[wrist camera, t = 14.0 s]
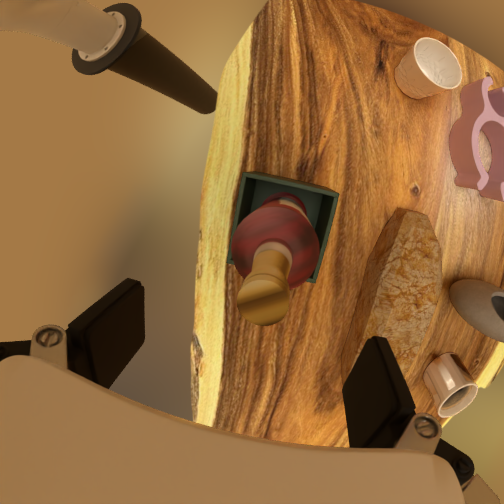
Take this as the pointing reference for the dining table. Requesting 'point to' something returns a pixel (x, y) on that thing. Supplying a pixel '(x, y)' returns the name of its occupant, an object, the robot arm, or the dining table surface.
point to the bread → (397, 290)
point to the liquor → (273, 257)
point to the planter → (480, 306)
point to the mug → (449, 384)
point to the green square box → (313, 196)
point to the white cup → (428, 69)
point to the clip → (466, 139)
